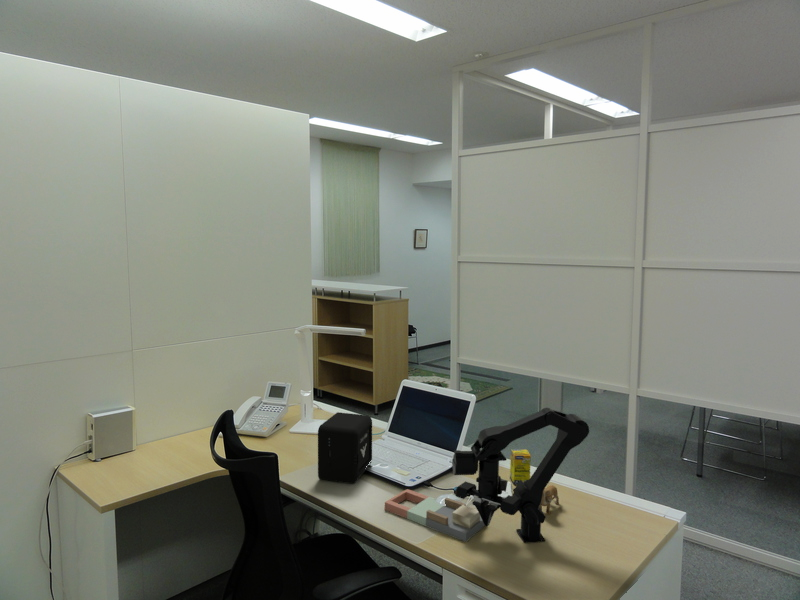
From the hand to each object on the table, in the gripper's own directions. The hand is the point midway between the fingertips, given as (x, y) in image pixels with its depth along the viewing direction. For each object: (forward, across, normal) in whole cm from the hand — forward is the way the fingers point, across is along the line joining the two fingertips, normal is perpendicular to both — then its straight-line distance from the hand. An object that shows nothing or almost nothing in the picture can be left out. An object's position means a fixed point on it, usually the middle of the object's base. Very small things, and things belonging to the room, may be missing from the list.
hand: (486, 525), depth 154 cm
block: (+1, +7, 0) cm, 7 cm away
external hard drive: (+4, +10, -29) cm, 31 cm away
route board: (+4, +18, 0) cm, 19 cm away
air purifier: (+4, +62, -7) cm, 63 cm away
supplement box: (+4, +8, -41) cm, 42 cm away
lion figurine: (+4, -8, -27) cm, 29 cm away
